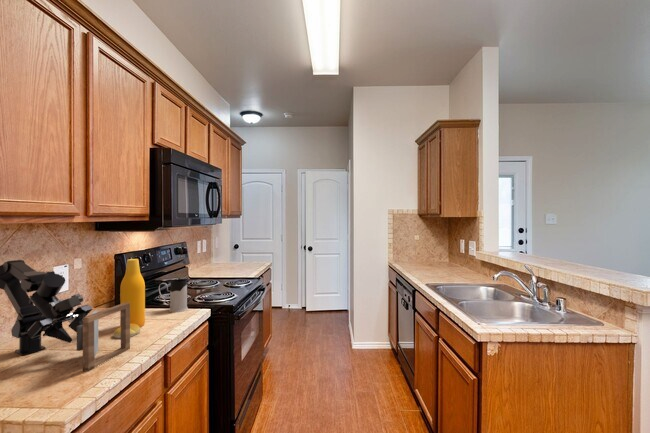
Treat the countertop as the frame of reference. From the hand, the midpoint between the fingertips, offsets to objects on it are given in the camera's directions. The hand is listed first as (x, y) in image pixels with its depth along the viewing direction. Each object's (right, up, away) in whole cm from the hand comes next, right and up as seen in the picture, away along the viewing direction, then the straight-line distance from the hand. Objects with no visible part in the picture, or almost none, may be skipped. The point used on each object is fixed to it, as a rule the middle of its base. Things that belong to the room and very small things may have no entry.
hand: (77, 338), depth 106 cm
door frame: (+10, -7, 0) cm, 12 cm away
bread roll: (+3, -7, +22) cm, 23 cm away
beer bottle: (0, -7, +31) cm, 32 cm away
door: (+3, -6, -2) cm, 7 cm away
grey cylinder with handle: (+6, -7, +55) cm, 56 cm away
